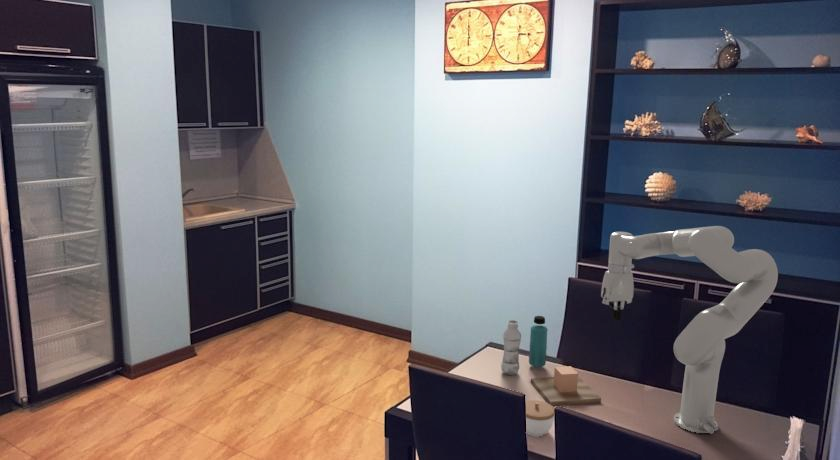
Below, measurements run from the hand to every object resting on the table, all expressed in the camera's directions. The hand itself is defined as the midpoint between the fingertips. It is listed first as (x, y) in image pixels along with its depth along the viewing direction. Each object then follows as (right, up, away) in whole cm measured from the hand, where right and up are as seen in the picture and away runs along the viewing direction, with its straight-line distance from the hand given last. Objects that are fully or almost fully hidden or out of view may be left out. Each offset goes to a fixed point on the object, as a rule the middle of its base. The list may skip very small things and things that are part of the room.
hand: (615, 319), depth 215 cm
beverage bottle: (-24, -21, +20) cm, 37 cm away
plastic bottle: (-35, -22, +14) cm, 43 cm away
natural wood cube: (-18, -24, 0) cm, 30 cm away
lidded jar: (-33, -30, -27) cm, 52 cm away
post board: (-18, -25, 0) cm, 31 cm away
